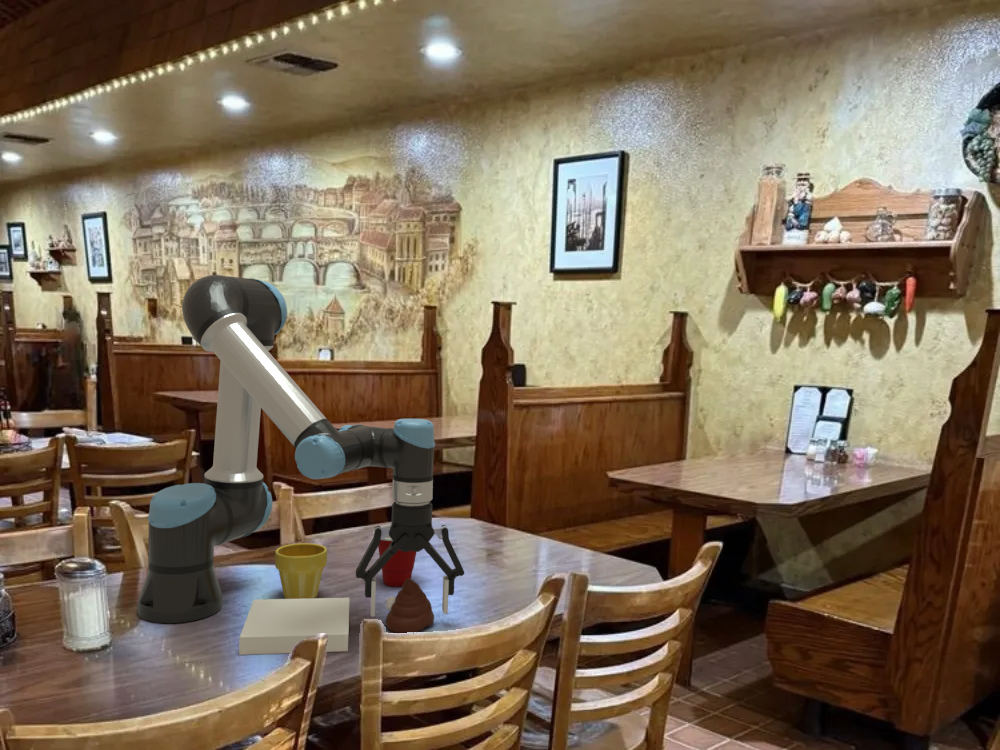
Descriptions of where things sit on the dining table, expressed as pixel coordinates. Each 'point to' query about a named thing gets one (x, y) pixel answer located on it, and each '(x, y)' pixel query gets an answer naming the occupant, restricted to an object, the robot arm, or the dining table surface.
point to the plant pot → (300, 569)
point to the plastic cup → (396, 563)
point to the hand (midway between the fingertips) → (409, 612)
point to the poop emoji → (409, 609)
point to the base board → (294, 624)
